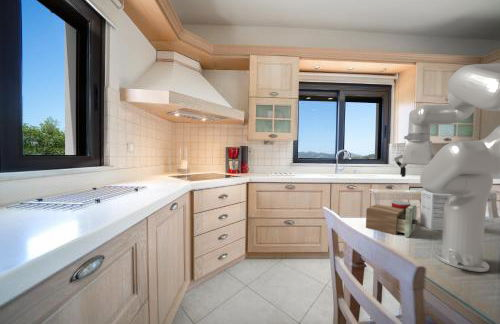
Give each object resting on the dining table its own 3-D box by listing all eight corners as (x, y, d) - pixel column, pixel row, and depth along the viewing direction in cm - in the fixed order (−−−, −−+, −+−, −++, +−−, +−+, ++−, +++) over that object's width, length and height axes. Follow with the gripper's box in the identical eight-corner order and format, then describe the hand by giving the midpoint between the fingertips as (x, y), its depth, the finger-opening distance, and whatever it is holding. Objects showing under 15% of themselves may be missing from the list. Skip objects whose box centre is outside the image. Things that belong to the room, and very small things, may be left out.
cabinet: (395, 234, 93) (396, 214, 93) (365, 227, 102) (366, 208, 102) (403, 227, 103) (404, 208, 103) (375, 221, 112) (376, 204, 111)
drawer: (413, 238, 89) (414, 210, 89) (376, 229, 99) (377, 204, 98) (419, 230, 98) (420, 205, 98) (385, 222, 108) (386, 199, 108)
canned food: (403, 221, 112) (404, 200, 112) (413, 226, 104) (414, 204, 104) (387, 220, 113) (388, 200, 112) (396, 226, 105) (397, 203, 105)
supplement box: (454, 231, 98) (456, 195, 98) (430, 230, 100) (432, 194, 100) (440, 225, 108) (442, 191, 107) (419, 223, 110) (421, 190, 109)
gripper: (392, 138, 98) (391, 176, 98) (443, 137, 85) (441, 180, 85) (397, 139, 103) (396, 175, 103) (446, 138, 89) (444, 179, 90)
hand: (416, 177), depth 94 cm, fingers open, 9 cm apart
